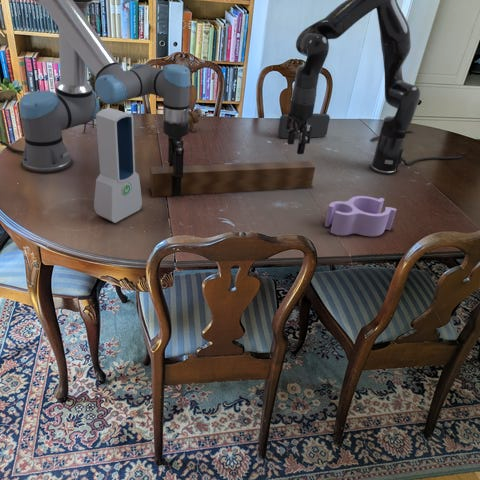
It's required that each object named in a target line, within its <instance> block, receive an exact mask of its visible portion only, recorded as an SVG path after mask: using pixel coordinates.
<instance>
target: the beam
mask: <svg viewBox="0 0 480 480" xmlns="http://www.w3.org/2000/svg"><path fill="white" fill-rule="evenodd" d="M149 170H150V171H149V173H150V175H149V178H150V192H151V195H152V196H151V197H153V198H154V197H169V196H173V195H172V178H171V175H173V166H169V165H168V166H167V165H166V166H150V168H149ZM315 171H316V166H315V165H314V164H313V163H312V162H311V161H310V160H302V161H276V162H275V161H274V162H250V163H249V162H248V163H247V162H246V163H223V164H222V163H221V164H197V165H196V164H195V165H192V164H191V165H183V178H181V195H180V196H188V195H207V194H224V193H240V192H259V191H277V190H279V191H280V190H295V189H297V190H298V189H310V188H312V185H313V180H314V175H315Z"/></svg>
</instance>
